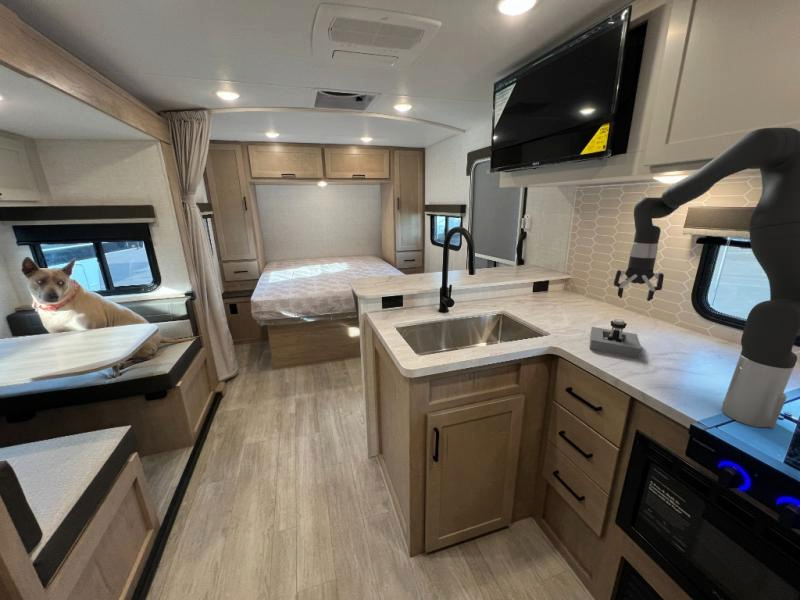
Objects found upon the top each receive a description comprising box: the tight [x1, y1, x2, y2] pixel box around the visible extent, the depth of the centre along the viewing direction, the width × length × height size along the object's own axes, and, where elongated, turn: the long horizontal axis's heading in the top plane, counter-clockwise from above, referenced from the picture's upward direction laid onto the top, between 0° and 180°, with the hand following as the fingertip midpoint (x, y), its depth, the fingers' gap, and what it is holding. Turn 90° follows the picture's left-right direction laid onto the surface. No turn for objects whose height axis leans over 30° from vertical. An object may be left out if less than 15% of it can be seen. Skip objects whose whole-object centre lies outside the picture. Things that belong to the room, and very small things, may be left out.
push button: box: [603, 318, 627, 343], centre depth 126 cm, size 7×5×10 cm
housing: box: [589, 326, 642, 360], centre depth 128 cm, size 16×16×4 cm
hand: (634, 299), depth 118 cm, fingers open, 8 cm apart
